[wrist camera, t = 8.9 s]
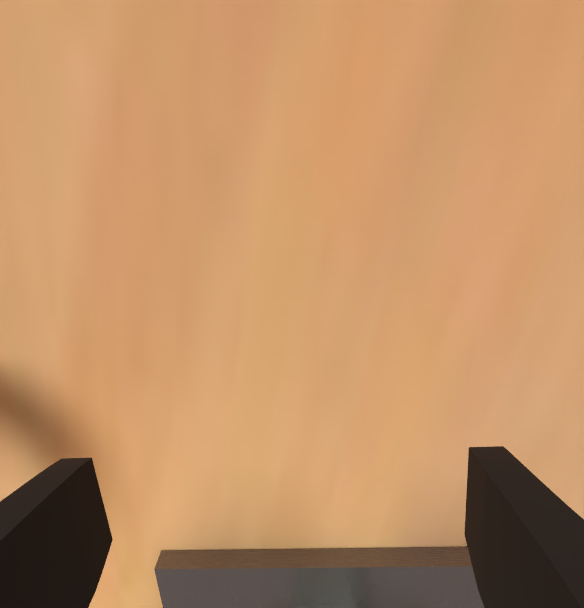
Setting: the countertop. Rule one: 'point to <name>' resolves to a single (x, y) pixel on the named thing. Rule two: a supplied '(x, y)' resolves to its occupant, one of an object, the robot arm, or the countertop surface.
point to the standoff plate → (318, 578)
